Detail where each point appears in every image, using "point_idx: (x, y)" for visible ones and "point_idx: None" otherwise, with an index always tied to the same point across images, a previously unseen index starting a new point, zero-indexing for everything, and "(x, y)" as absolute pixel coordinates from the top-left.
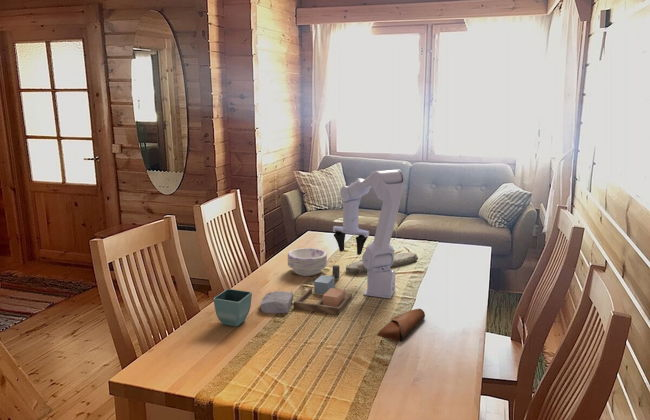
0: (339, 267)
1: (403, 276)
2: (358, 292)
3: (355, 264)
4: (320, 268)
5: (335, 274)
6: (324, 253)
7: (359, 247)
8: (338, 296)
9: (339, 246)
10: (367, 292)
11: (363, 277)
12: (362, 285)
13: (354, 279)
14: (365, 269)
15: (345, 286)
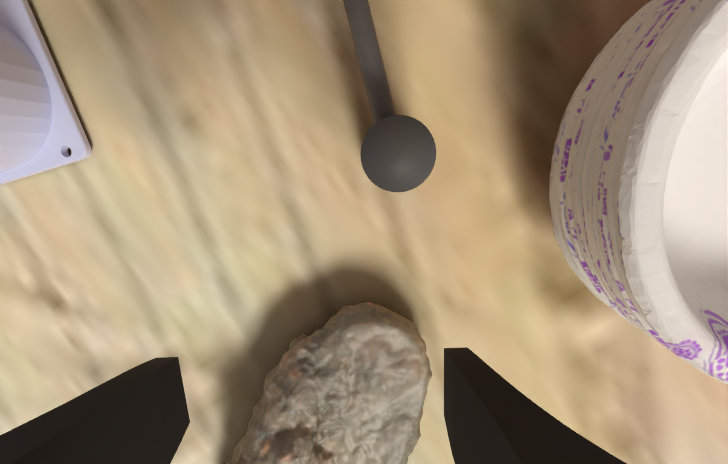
0: (365, 172)
1: None
2: (93, 19)
3: (378, 413)
4: (562, 128)
5: (372, 112)
6: (680, 301)
7: (7, 432)
8: None
9: (491, 386)
10: (8, 24)
11: (255, 302)
12: (163, 164)
13: (281, 234)
14: (267, 377)
15: (246, 70)
